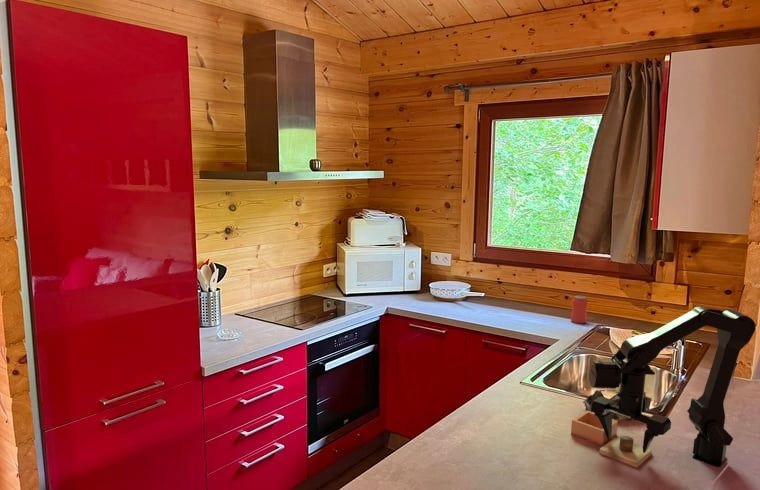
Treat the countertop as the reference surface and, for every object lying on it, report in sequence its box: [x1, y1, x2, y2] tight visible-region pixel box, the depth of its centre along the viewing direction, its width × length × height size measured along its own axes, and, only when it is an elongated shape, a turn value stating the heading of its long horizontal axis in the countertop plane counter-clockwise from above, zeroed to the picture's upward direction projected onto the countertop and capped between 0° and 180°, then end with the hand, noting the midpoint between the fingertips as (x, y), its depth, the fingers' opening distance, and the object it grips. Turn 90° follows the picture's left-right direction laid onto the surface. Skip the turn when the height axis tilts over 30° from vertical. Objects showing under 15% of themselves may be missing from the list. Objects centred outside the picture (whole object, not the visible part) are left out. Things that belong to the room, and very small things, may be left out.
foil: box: [582, 388, 633, 422], centre depth 174 cm, size 12×11×15 cm
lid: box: [599, 435, 653, 469], centre depth 152 cm, size 10×10×4 cm
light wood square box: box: [570, 410, 619, 447], centre depth 162 cm, size 9×9×4 cm
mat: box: [598, 451, 653, 469], centre depth 152 cm, size 10×10×1 cm
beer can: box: [570, 294, 588, 325], centre depth 271 cm, size 7×7×12 cm
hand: (626, 445), depth 152 cm, fingers open, 9 cm apart
